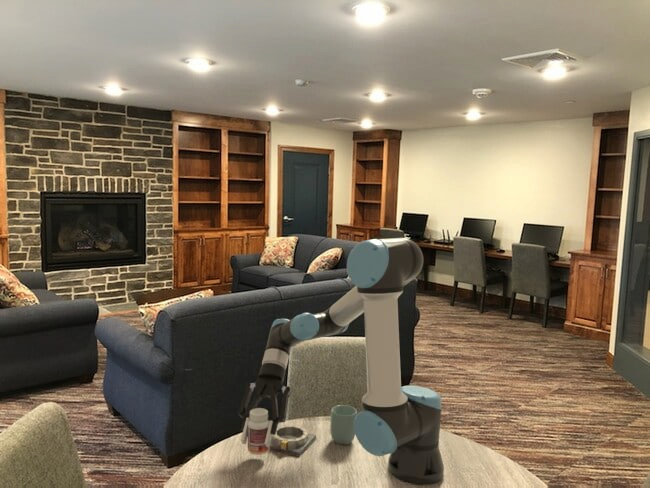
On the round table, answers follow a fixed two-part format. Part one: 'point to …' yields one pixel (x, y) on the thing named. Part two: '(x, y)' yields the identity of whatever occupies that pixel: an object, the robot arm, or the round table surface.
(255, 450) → the pill bottle
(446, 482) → the round table surface
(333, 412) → the cup
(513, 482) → the round table surface
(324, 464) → the round table surface
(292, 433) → the hub plate
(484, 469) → the round table surface
